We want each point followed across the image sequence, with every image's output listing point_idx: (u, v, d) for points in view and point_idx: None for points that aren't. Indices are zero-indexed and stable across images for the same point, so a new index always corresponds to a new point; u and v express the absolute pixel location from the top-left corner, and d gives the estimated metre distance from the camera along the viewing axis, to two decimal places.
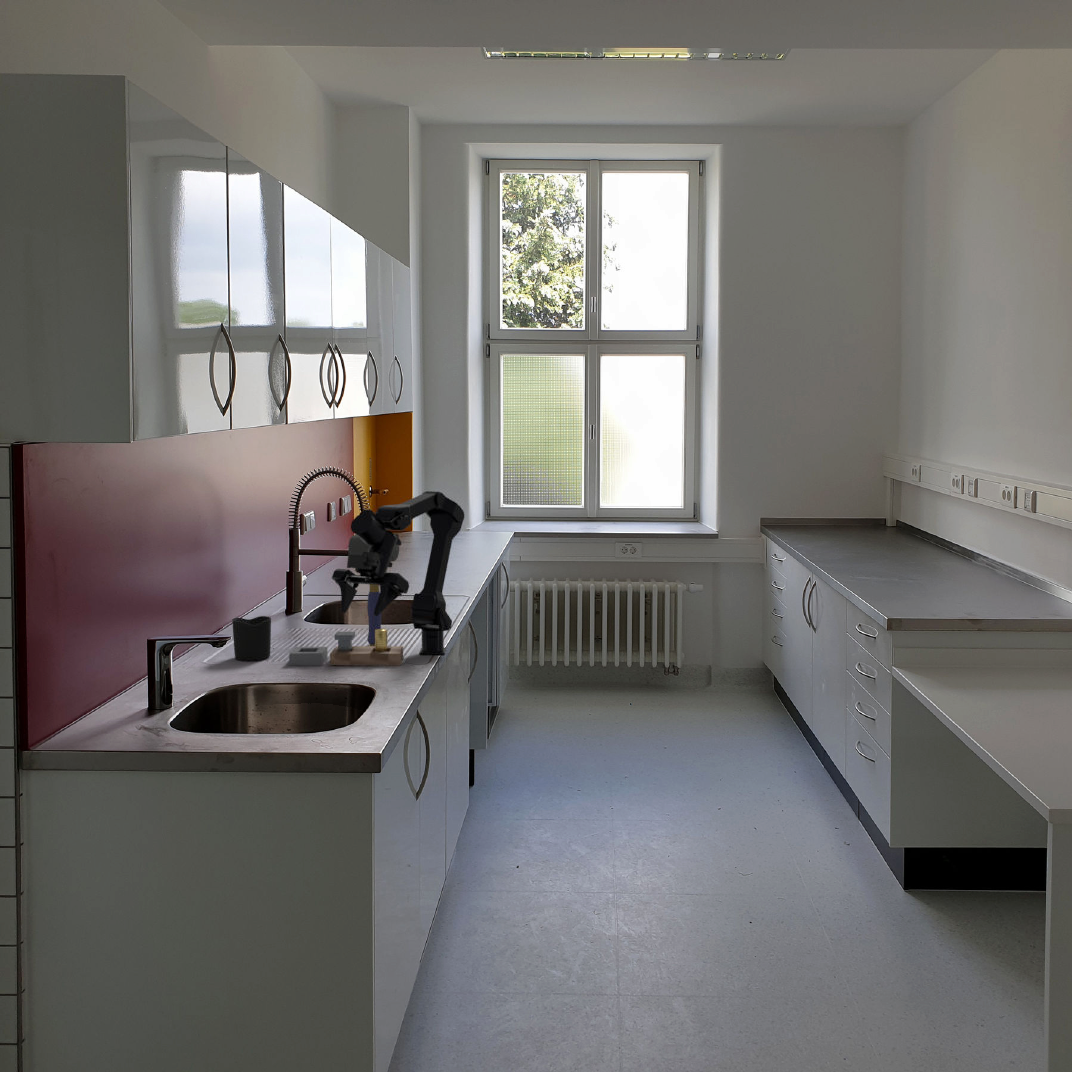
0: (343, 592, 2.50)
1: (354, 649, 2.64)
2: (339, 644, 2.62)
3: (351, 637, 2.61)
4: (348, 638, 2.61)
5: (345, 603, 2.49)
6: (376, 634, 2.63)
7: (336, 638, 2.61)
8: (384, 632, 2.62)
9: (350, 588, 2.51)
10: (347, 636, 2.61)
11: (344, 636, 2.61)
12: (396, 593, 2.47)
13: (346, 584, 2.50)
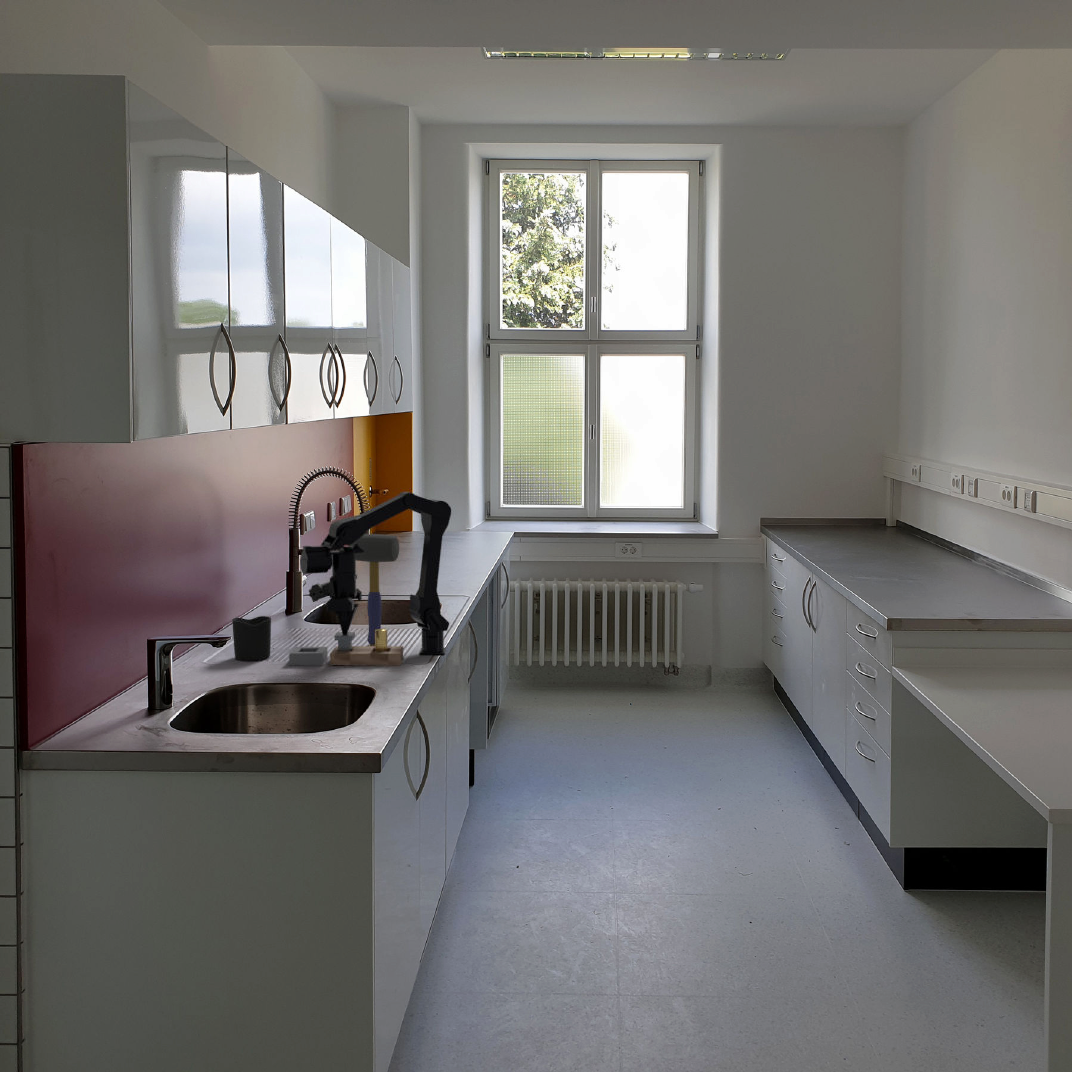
0: None
1: (354, 649, 2.64)
2: (339, 645, 2.62)
3: (351, 638, 2.61)
4: (348, 639, 2.61)
5: None
6: (376, 634, 2.63)
7: (336, 639, 2.61)
8: (384, 632, 2.62)
9: None
10: (347, 637, 2.61)
11: (344, 637, 2.61)
12: None
13: None
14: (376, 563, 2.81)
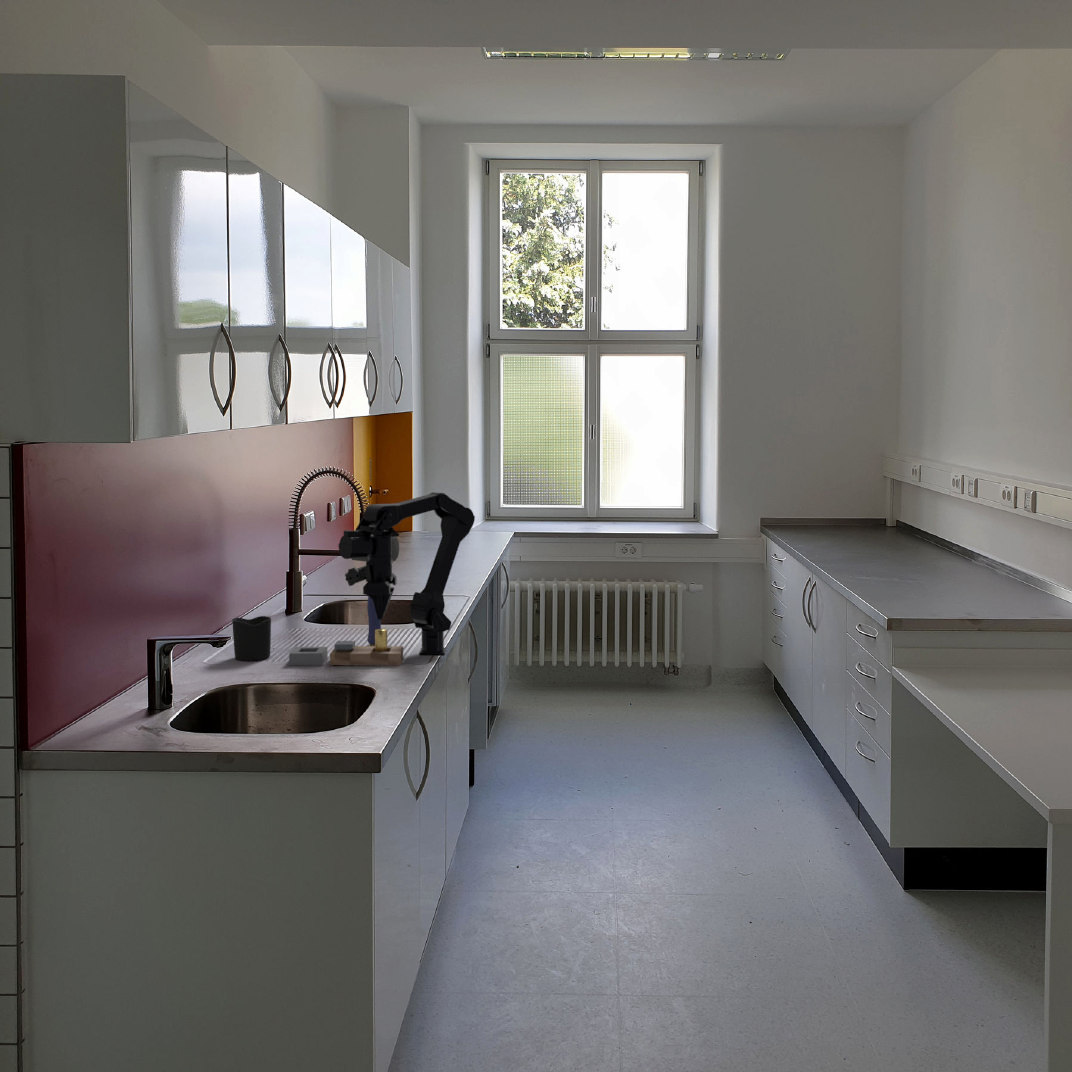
0: None
1: (354, 649, 2.64)
2: None
3: (351, 646, 2.61)
4: (348, 647, 2.61)
5: None
6: (376, 634, 2.63)
7: (336, 647, 2.61)
8: (384, 632, 2.62)
9: None
10: (347, 645, 2.61)
11: (344, 645, 2.61)
12: (383, 595, 2.58)
13: None
14: None
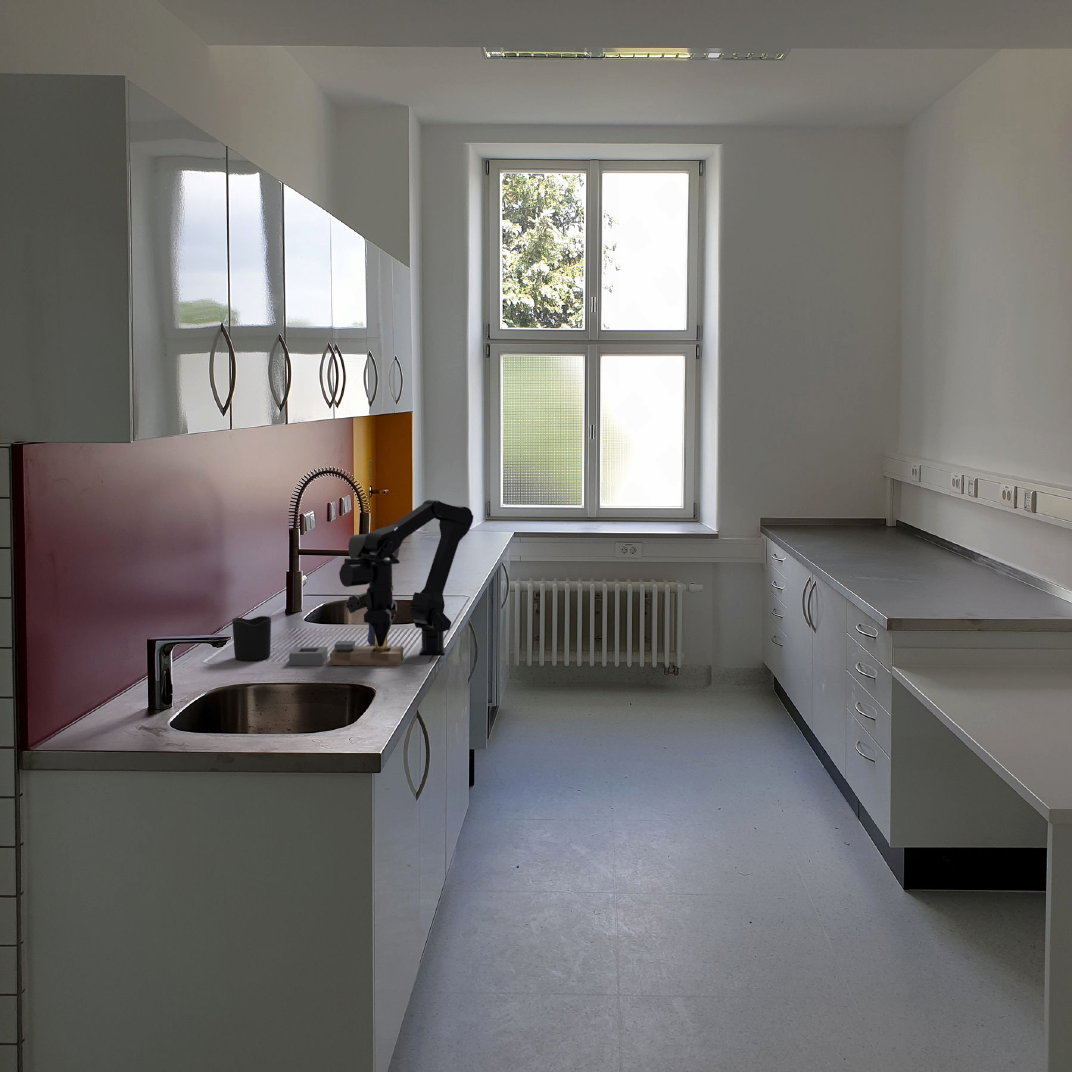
0: None
1: (354, 649, 2.64)
2: None
3: (351, 646, 2.61)
4: (348, 647, 2.61)
5: None
6: None
7: (336, 647, 2.61)
8: None
9: None
10: (347, 645, 2.61)
11: (344, 645, 2.61)
12: (384, 622, 2.59)
13: None
14: None
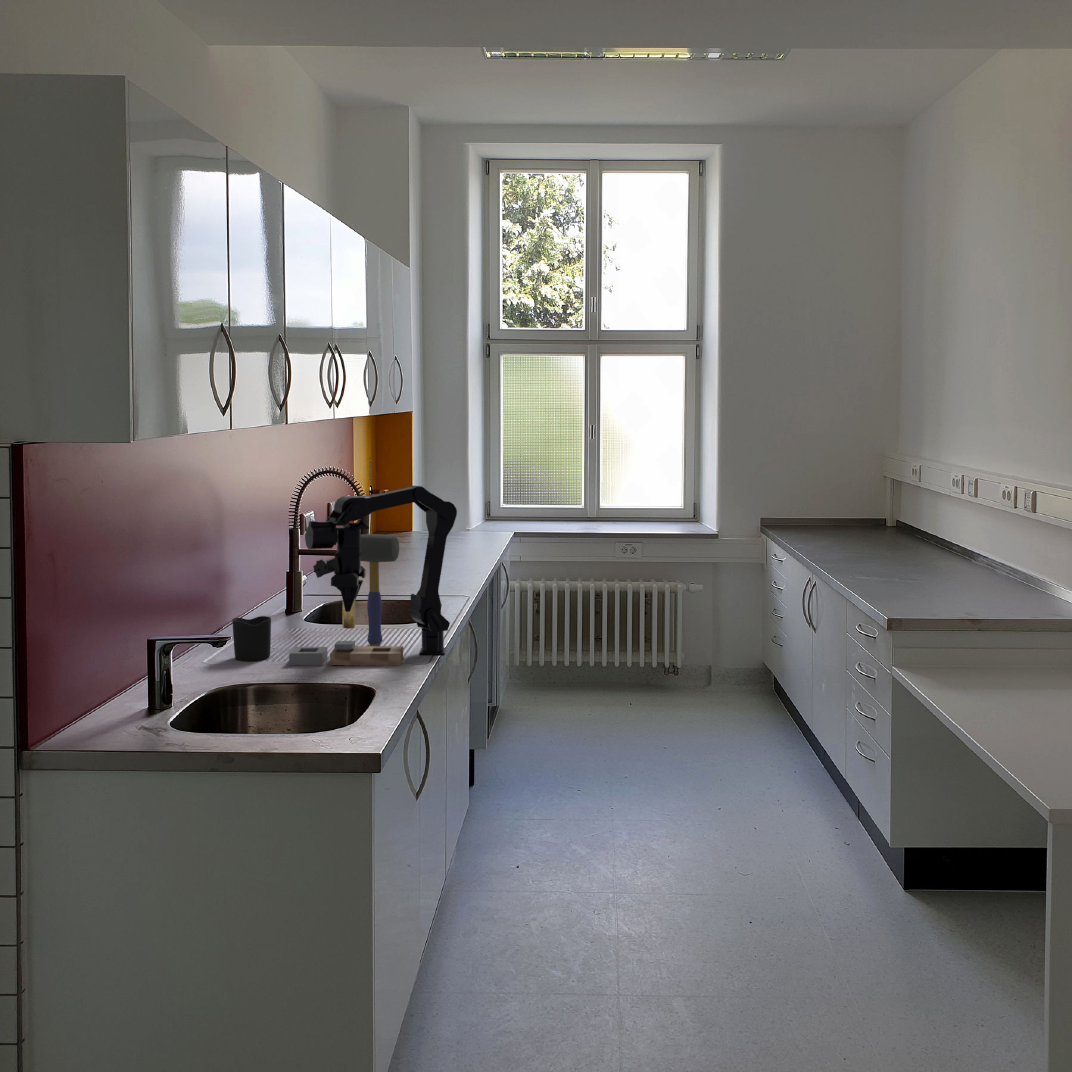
0: None
1: (354, 649, 2.64)
2: None
3: (351, 646, 2.61)
4: (348, 647, 2.61)
5: None
6: None
7: (336, 647, 2.61)
8: None
9: None
10: (347, 645, 2.61)
11: (344, 645, 2.61)
12: None
13: None
14: (376, 563, 2.81)
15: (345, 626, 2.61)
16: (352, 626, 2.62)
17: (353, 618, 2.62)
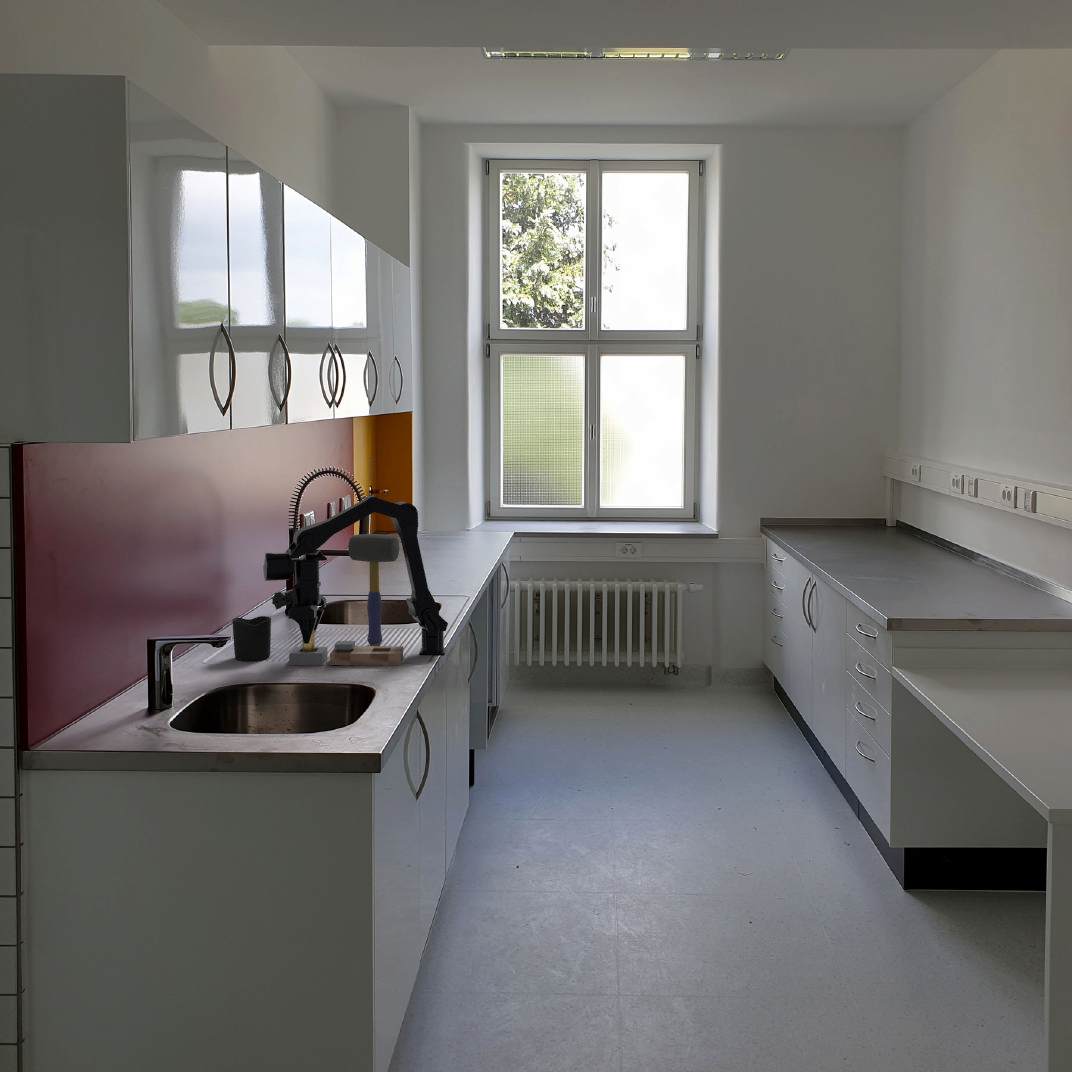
0: None
1: (354, 649, 2.64)
2: None
3: (351, 646, 2.61)
4: (348, 647, 2.61)
5: None
6: None
7: (336, 647, 2.61)
8: None
9: None
10: (347, 645, 2.61)
11: (344, 645, 2.61)
12: (309, 619, 2.57)
13: None
14: (376, 563, 2.81)
15: None
16: None
17: None
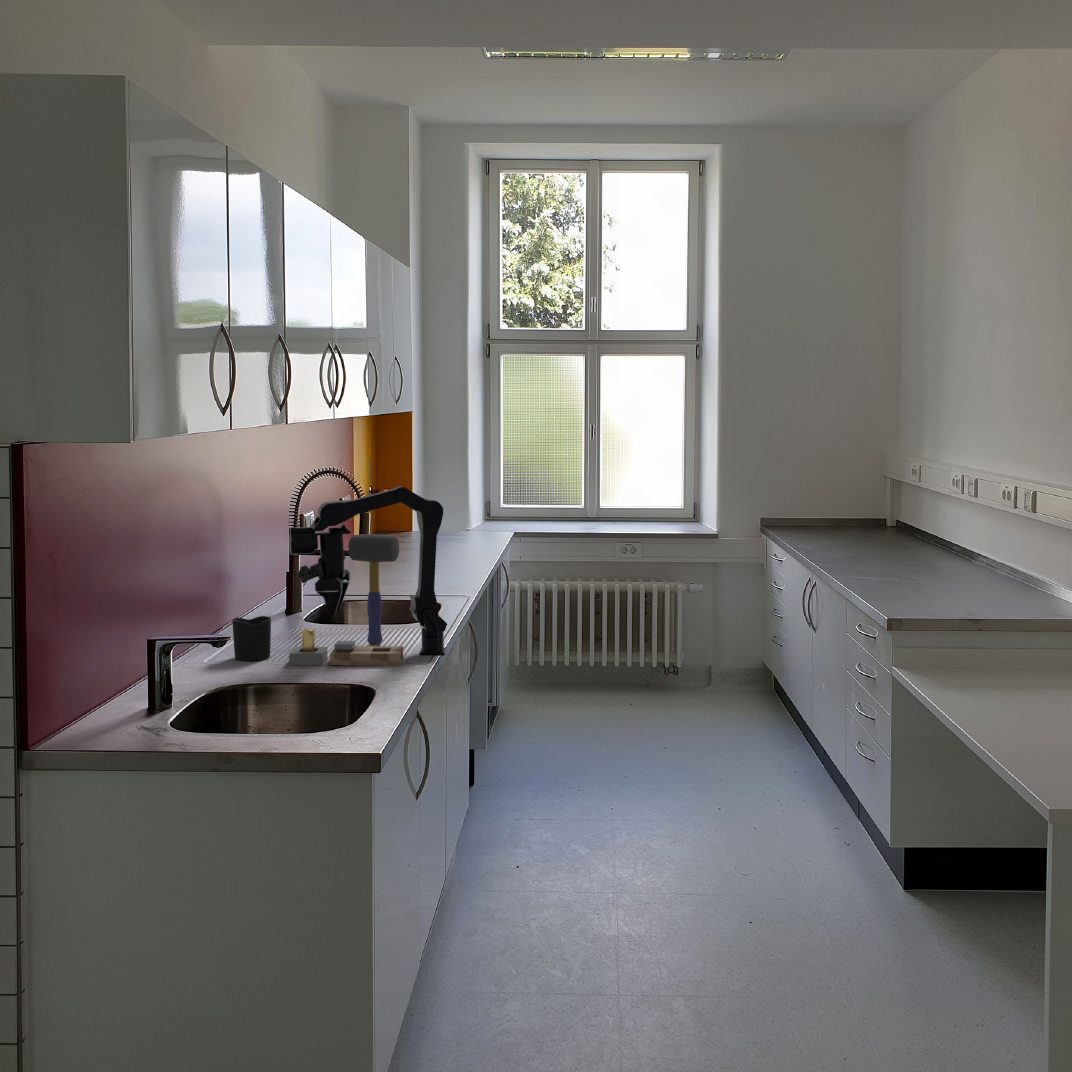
0: None
1: (354, 649, 2.64)
2: None
3: (351, 646, 2.61)
4: (348, 647, 2.61)
5: None
6: (303, 634, 2.62)
7: (336, 647, 2.61)
8: (311, 632, 2.62)
9: None
10: (347, 645, 2.61)
11: (344, 645, 2.61)
12: None
13: None
14: (376, 563, 2.81)
15: None
16: None
17: None
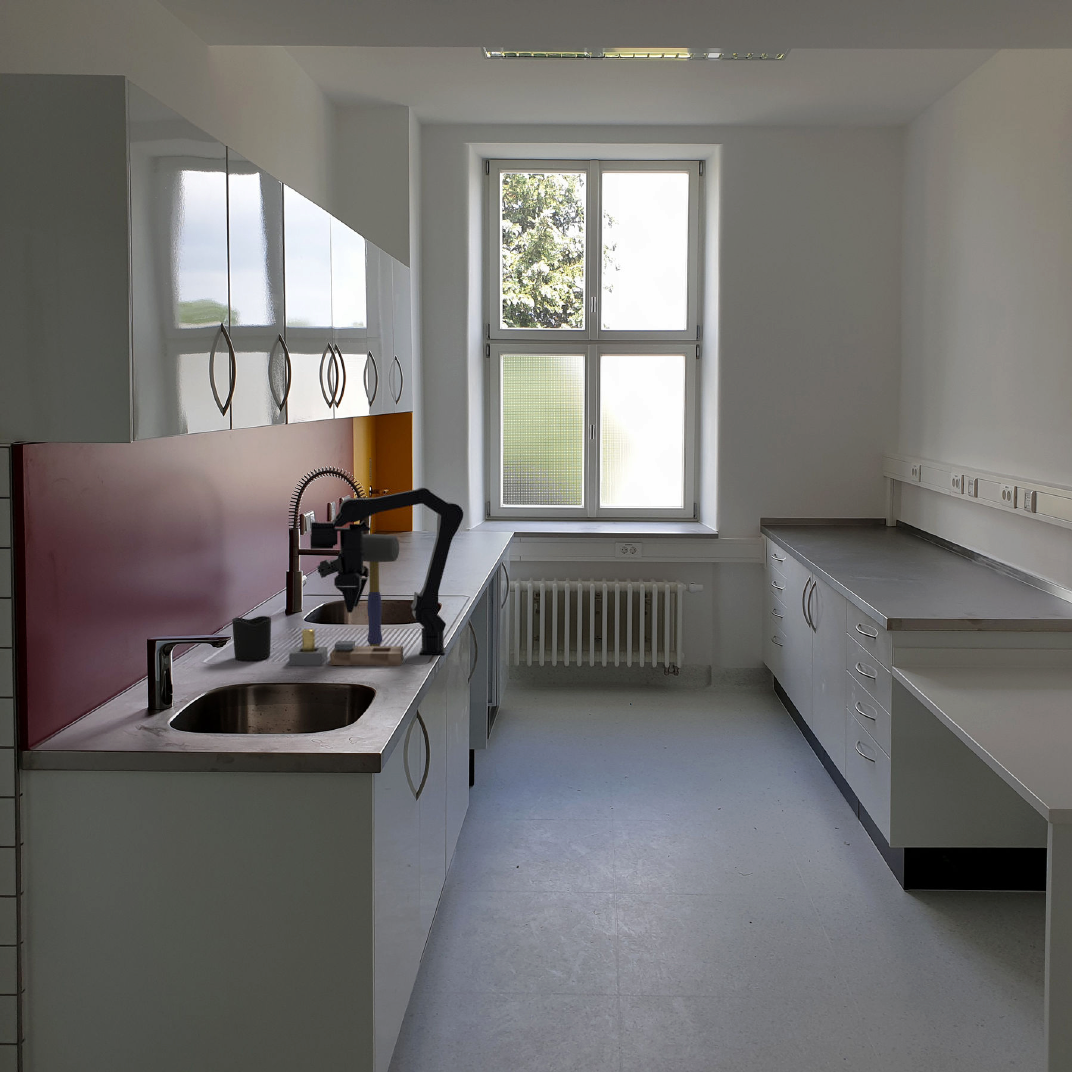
0: None
1: (354, 649, 2.64)
2: None
3: (351, 646, 2.61)
4: (348, 647, 2.61)
5: None
6: (303, 634, 2.62)
7: (336, 647, 2.61)
8: (311, 632, 2.62)
9: None
10: (347, 645, 2.61)
11: (344, 645, 2.61)
12: (353, 588, 2.62)
13: None
14: (376, 563, 2.81)
15: None
16: None
17: None
